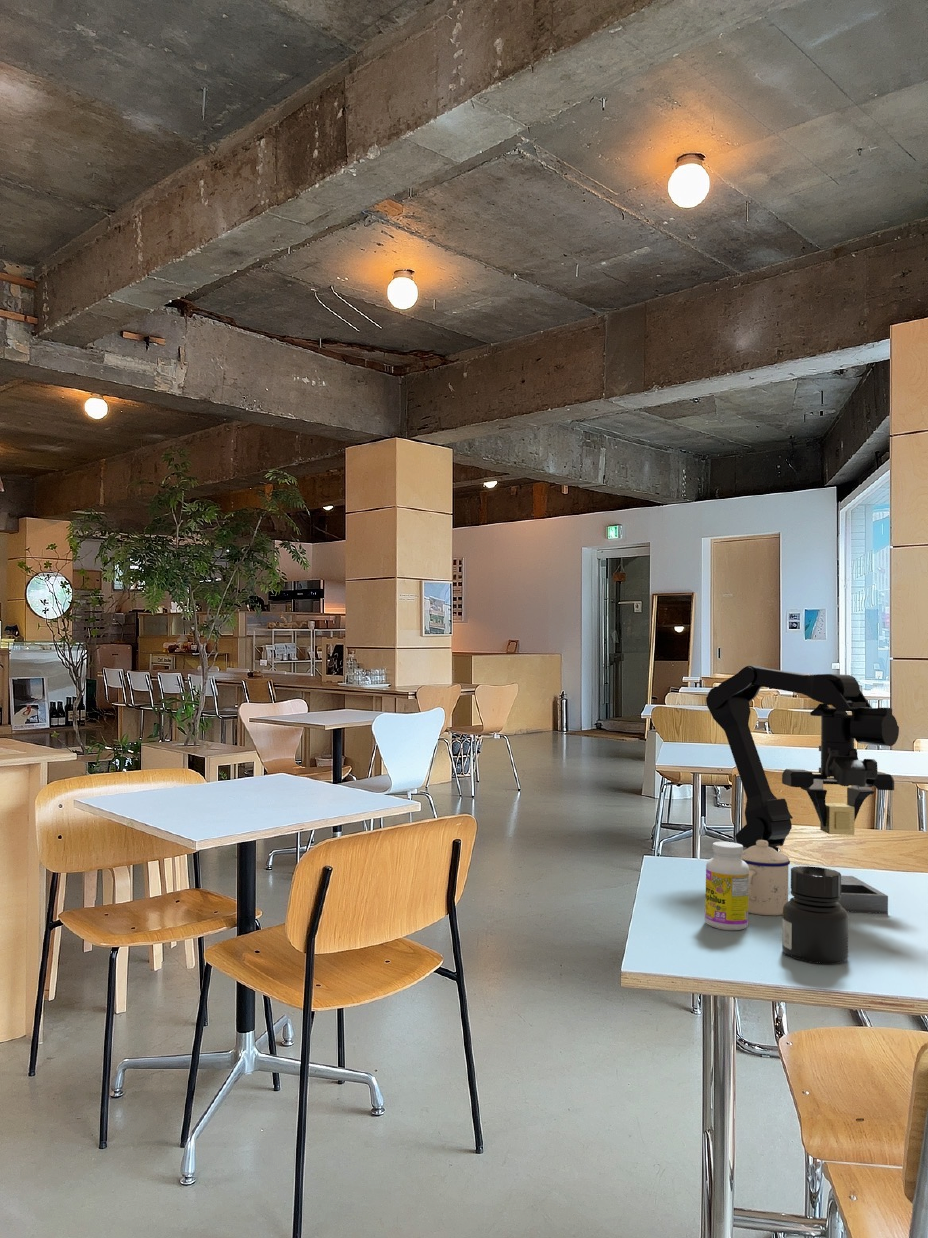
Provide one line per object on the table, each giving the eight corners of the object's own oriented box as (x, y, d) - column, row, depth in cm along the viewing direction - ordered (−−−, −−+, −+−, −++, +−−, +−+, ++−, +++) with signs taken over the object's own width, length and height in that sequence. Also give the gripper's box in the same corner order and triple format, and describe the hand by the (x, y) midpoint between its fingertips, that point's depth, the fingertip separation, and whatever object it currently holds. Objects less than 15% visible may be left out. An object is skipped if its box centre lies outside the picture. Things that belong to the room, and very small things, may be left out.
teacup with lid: (745, 899, 162) (746, 833, 163) (796, 909, 157) (797, 841, 157) (718, 912, 153) (719, 842, 154) (772, 923, 147) (773, 850, 148)
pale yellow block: (830, 834, 165) (830, 806, 165) (819, 829, 171) (819, 802, 171) (855, 835, 165) (855, 807, 165) (843, 830, 170) (843, 803, 171)
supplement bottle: (696, 921, 147) (697, 841, 148) (730, 918, 149) (731, 839, 150) (722, 933, 141) (723, 849, 141) (757, 930, 143) (758, 847, 144)
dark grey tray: (834, 911, 156) (835, 894, 156) (804, 890, 171) (804, 874, 171) (887, 913, 156) (888, 896, 156) (852, 892, 171) (852, 876, 171)
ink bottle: (799, 942, 137) (800, 861, 138) (858, 956, 131) (859, 872, 132) (770, 955, 130) (771, 870, 131) (831, 971, 124) (832, 882, 125)
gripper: (801, 743, 161) (801, 832, 160) (908, 747, 160) (908, 836, 160) (781, 739, 172) (780, 822, 171) (881, 742, 172) (880, 825, 171)
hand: (837, 826), depth 168 cm, fingers closed on pale yellow block, 4 cm apart
